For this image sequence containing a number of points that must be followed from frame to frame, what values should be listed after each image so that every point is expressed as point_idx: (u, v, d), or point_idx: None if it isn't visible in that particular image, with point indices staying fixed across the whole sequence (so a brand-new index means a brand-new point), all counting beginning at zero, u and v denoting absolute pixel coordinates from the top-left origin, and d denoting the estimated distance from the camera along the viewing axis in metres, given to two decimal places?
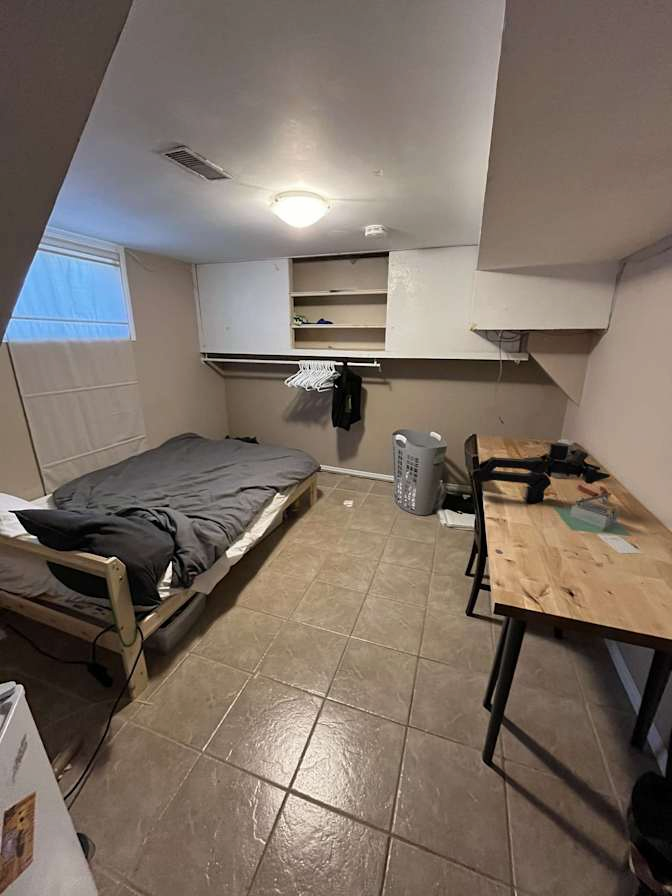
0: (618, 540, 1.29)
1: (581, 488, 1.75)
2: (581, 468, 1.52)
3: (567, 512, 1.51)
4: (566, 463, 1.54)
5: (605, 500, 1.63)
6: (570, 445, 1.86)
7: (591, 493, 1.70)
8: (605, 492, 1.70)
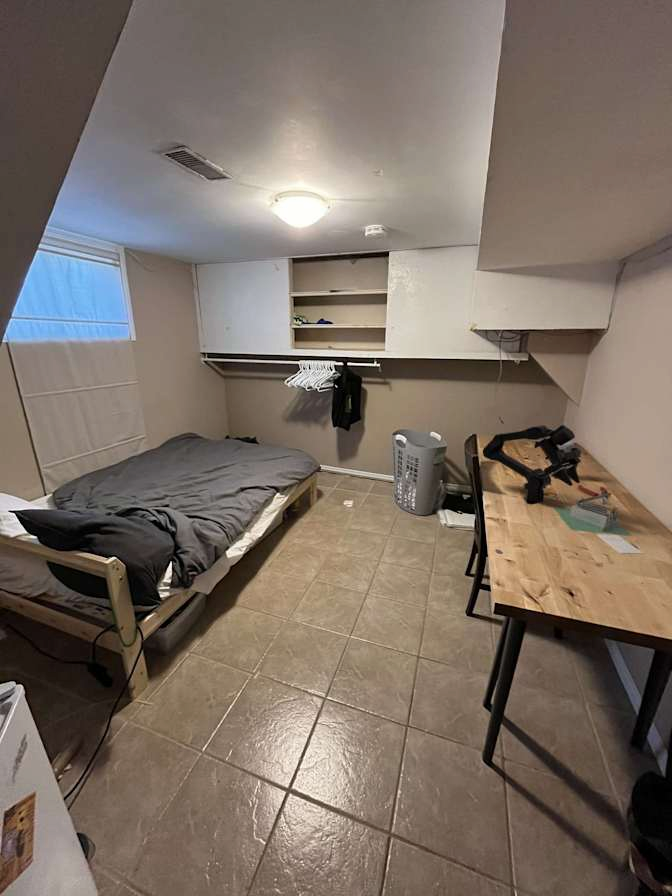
0: (618, 540, 1.29)
1: (581, 488, 1.75)
2: (559, 462, 1.49)
3: (567, 512, 1.51)
4: (555, 449, 1.50)
5: (605, 500, 1.63)
6: (570, 445, 1.86)
7: (591, 493, 1.70)
8: (605, 492, 1.70)
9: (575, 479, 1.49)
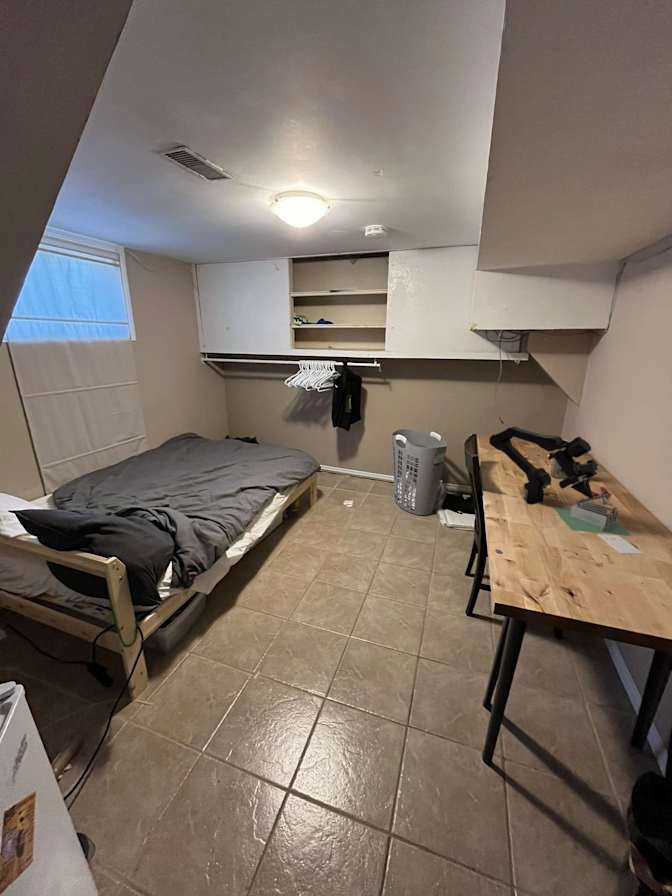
0: (619, 541, 1.29)
1: None
2: (575, 475, 1.44)
3: (567, 512, 1.51)
4: (570, 461, 1.46)
5: (605, 500, 1.63)
6: None
7: None
8: (605, 492, 1.70)
9: None
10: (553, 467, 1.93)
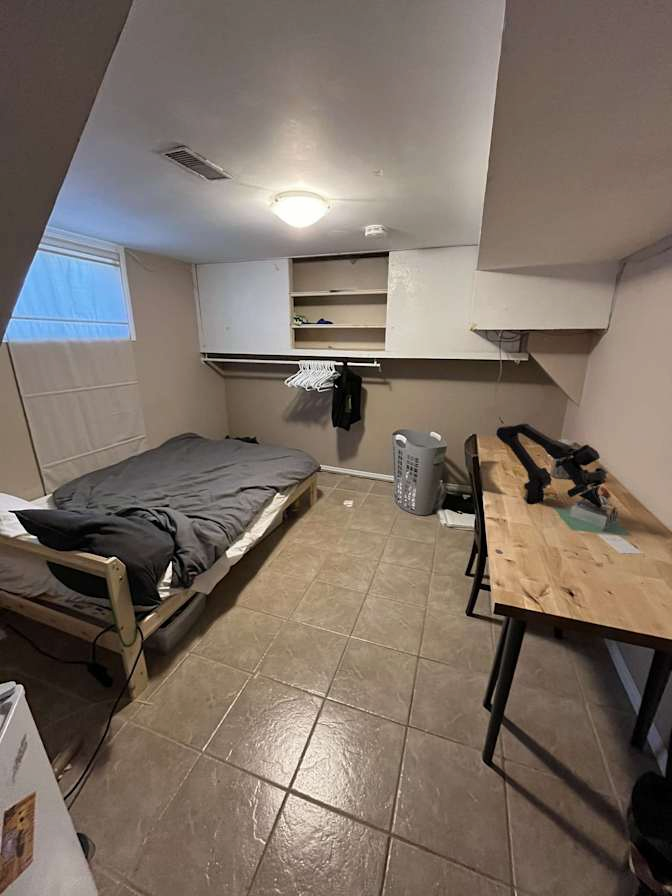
0: (619, 541, 1.29)
1: None
2: (583, 483, 1.42)
3: (567, 512, 1.51)
4: (578, 469, 1.44)
5: (605, 501, 1.63)
6: (570, 445, 1.86)
7: None
8: (606, 493, 1.69)
9: None
10: (553, 467, 1.93)
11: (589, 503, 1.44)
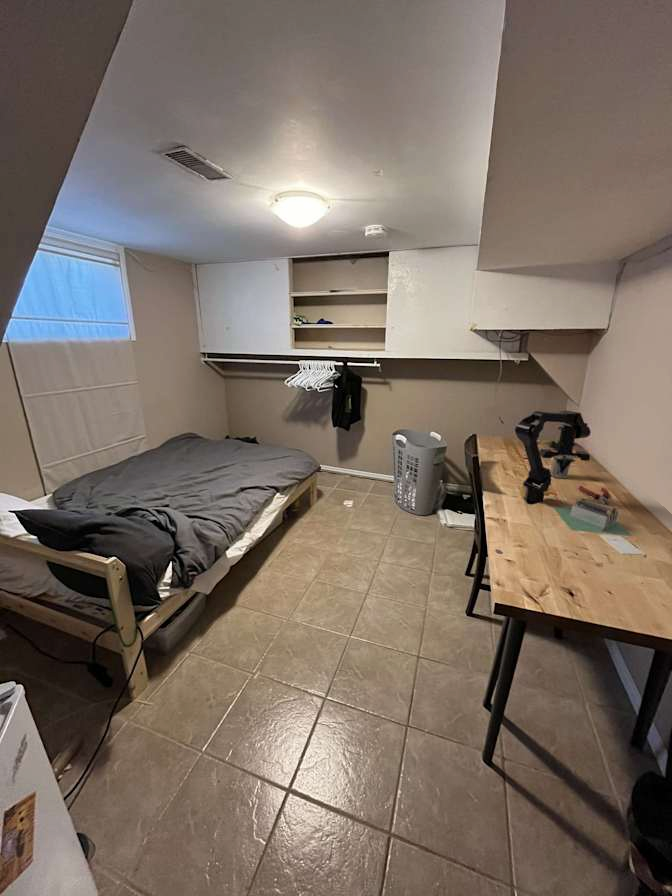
0: (620, 541, 1.29)
1: (582, 489, 1.74)
2: None
3: (567, 512, 1.51)
4: None
5: (607, 501, 1.62)
6: None
7: (592, 494, 1.68)
8: (606, 493, 1.69)
9: None
10: (553, 467, 1.93)
11: (589, 503, 1.44)
